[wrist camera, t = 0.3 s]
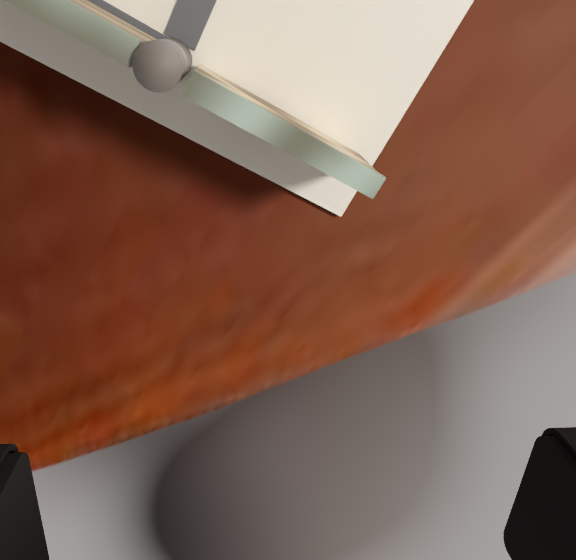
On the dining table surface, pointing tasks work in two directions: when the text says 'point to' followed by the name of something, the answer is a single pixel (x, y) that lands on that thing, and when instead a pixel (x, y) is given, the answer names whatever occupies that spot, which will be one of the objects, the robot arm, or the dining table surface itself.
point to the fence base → (116, 40)
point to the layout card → (269, 70)
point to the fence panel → (281, 130)
